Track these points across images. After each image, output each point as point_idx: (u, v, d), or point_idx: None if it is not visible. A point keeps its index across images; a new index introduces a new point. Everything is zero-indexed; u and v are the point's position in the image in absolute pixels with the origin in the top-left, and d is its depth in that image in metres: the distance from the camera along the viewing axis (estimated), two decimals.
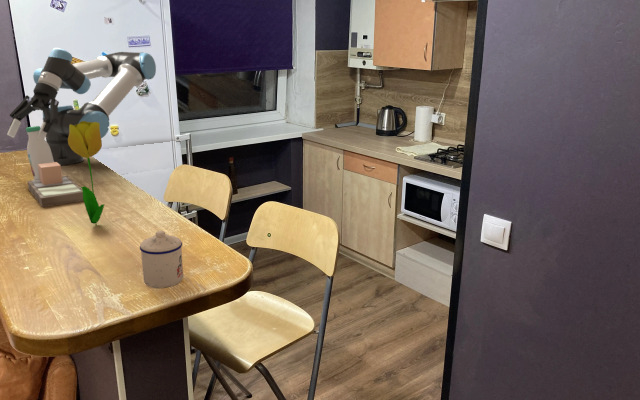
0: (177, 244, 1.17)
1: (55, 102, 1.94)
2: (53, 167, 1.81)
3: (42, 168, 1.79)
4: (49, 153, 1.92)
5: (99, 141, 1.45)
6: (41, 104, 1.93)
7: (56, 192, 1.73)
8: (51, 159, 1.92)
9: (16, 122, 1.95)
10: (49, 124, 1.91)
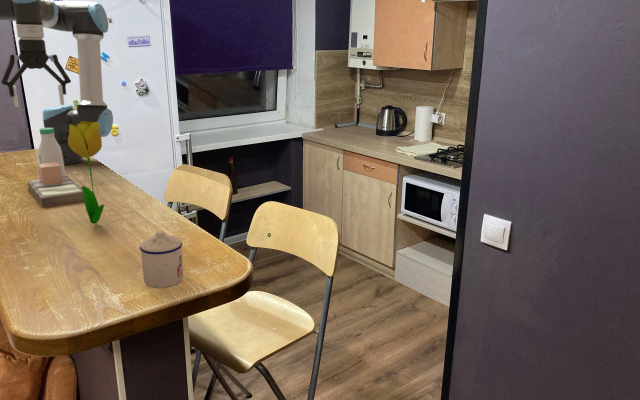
0: (177, 244, 1.17)
1: None
2: (53, 167, 1.81)
3: (42, 168, 1.79)
4: (60, 156, 1.91)
5: (99, 141, 1.45)
6: (44, 65, 1.74)
7: (56, 192, 1.73)
8: (61, 162, 1.92)
9: None
10: None
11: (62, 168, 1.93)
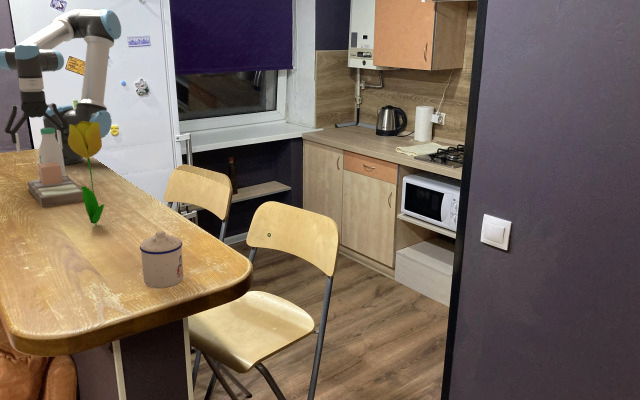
0: (177, 244, 1.17)
1: None
2: (53, 167, 1.81)
3: (42, 168, 1.79)
4: (60, 156, 1.91)
5: (99, 141, 1.45)
6: (44, 114, 1.88)
7: (56, 192, 1.73)
8: (61, 162, 1.92)
9: (18, 137, 1.86)
10: None
11: (62, 168, 1.93)
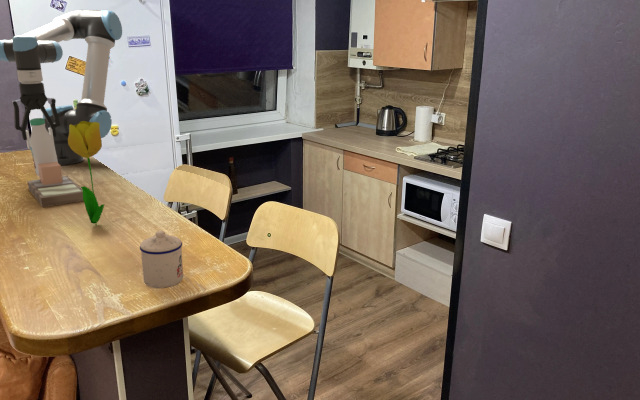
0: (177, 244, 1.17)
1: None
2: (53, 167, 1.81)
3: (42, 168, 1.79)
4: (51, 148, 1.89)
5: (99, 141, 1.45)
6: (42, 107, 1.87)
7: (56, 192, 1.73)
8: (53, 153, 1.90)
9: None
10: None
11: (54, 159, 1.91)
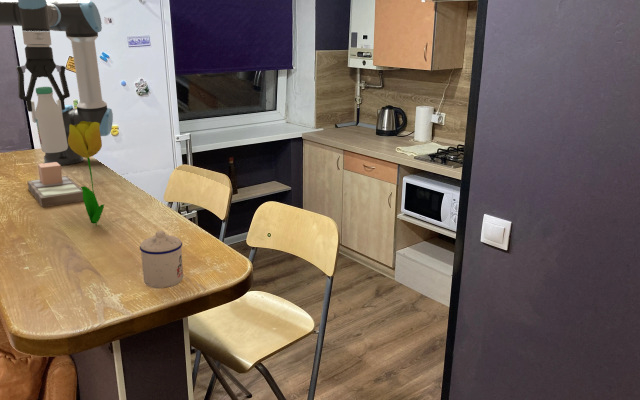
0: (177, 244, 1.17)
1: None
2: (53, 167, 1.81)
3: (42, 168, 1.79)
4: (59, 120, 1.67)
5: (99, 141, 1.45)
6: (50, 74, 1.66)
7: (56, 192, 1.73)
8: (61, 127, 1.68)
9: (33, 104, 1.66)
10: None
11: (62, 134, 1.69)
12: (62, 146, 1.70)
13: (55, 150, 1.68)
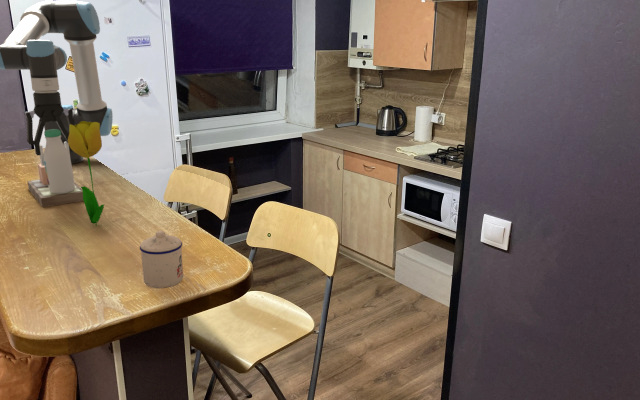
0: (177, 244, 1.17)
1: None
2: None
3: (42, 168, 1.79)
4: (67, 162, 1.70)
5: (99, 141, 1.45)
6: (58, 119, 1.68)
7: None
8: (69, 168, 1.71)
9: None
10: None
11: (70, 175, 1.71)
12: (70, 187, 1.72)
13: (63, 191, 1.71)
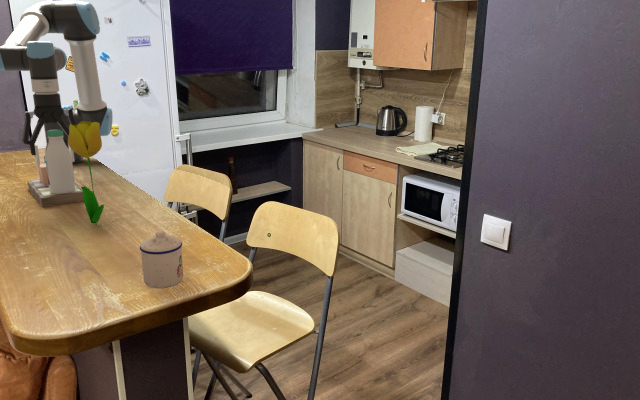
0: (177, 244, 1.17)
1: None
2: None
3: (42, 168, 1.79)
4: (69, 162, 1.70)
5: (99, 141, 1.45)
6: (58, 119, 1.69)
7: None
8: (70, 169, 1.71)
9: None
10: None
11: (71, 175, 1.72)
12: (70, 187, 1.72)
13: (63, 191, 1.71)
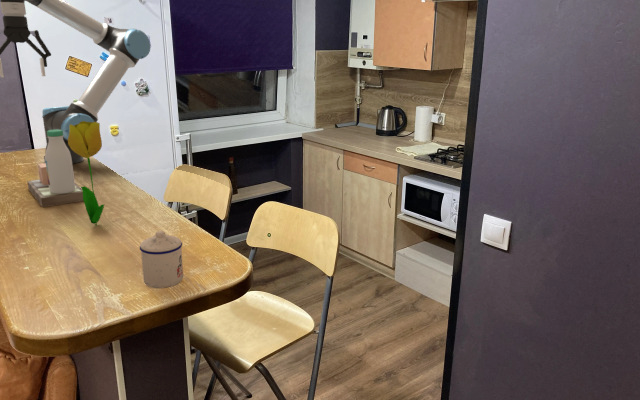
0: (177, 244, 1.17)
1: None
2: None
3: (42, 168, 1.79)
4: (68, 162, 1.70)
5: (99, 141, 1.45)
6: (27, 39, 1.92)
7: None
8: (70, 169, 1.71)
9: None
10: None
11: (71, 175, 1.72)
12: (70, 187, 1.72)
13: (63, 191, 1.71)
